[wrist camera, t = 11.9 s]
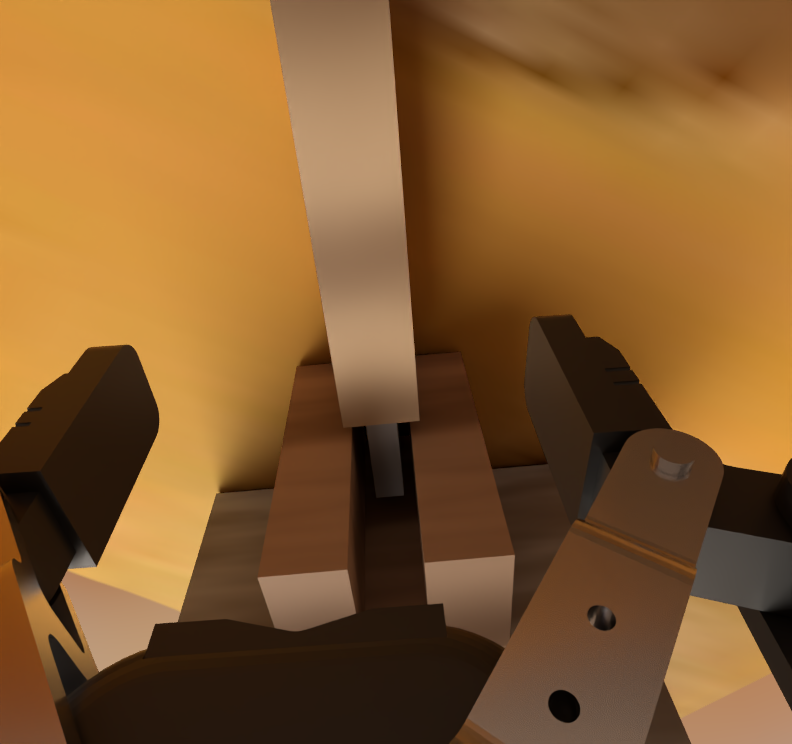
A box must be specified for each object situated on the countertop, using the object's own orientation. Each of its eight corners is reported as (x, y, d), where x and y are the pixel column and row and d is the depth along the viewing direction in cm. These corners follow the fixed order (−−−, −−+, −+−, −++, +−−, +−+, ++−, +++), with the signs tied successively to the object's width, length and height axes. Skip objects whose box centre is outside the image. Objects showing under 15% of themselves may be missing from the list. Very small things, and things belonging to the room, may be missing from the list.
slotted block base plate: (174, 377, 27) (-120, 960, 11) (583, 340, 27) (922, 873, 11) (223, 513, 33) (77, 1043, 16) (566, 482, 33) (773, 986, 16)
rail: (295, -1, 19) (269, 0, 14) (382, -9, 19) (388, -12, 14) (357, 413, 29) (355, 499, 24) (414, 408, 29) (424, 493, 24)
